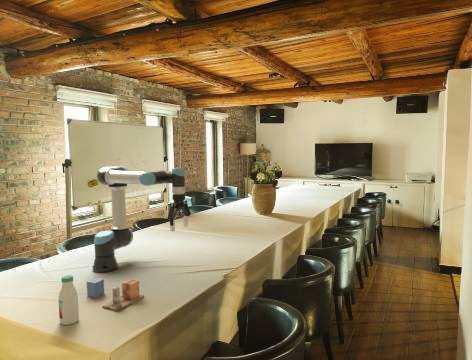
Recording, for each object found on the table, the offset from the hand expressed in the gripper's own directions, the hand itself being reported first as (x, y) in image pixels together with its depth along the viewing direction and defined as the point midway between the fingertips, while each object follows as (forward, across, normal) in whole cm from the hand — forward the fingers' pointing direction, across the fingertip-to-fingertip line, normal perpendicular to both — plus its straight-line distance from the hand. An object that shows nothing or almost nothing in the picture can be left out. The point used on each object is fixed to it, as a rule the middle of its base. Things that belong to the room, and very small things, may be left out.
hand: (179, 228), depth 214 cm
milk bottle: (+28, -72, +8) cm, 77 cm away
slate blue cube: (+28, -46, +21) cm, 57 cm away
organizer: (+28, -46, +1) cm, 54 cm away
